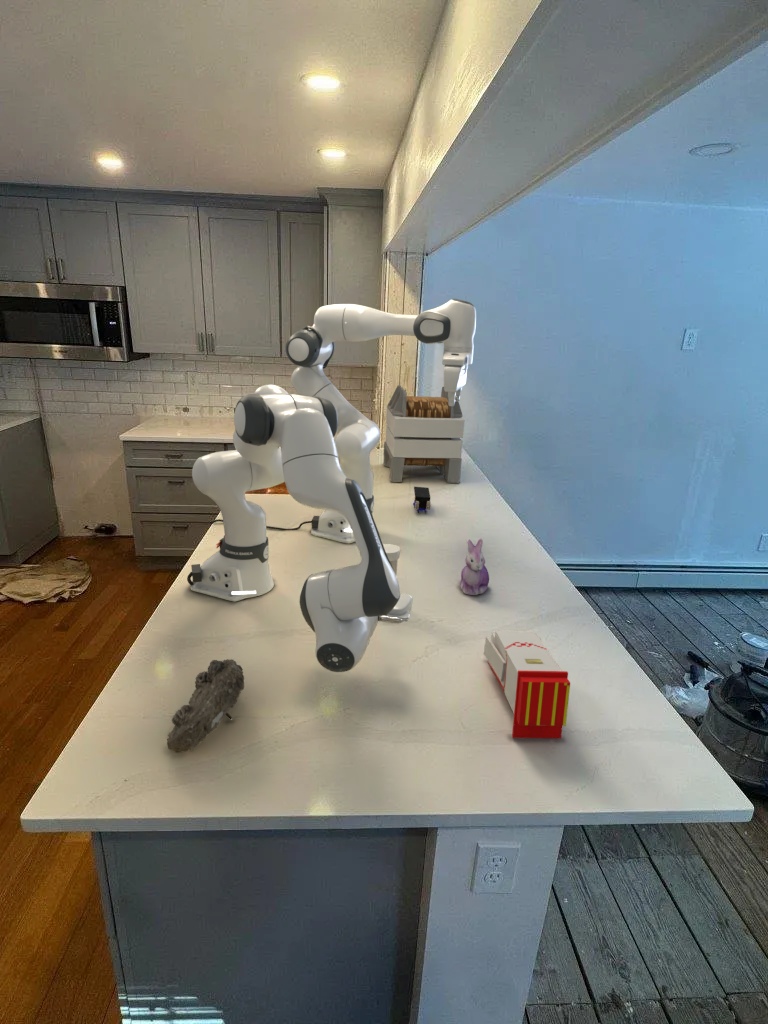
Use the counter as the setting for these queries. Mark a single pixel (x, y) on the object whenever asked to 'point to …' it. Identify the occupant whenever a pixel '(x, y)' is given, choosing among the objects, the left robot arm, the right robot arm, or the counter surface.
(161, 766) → the counter surface
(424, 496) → the figurine character
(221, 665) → the fossil
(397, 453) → the transformer
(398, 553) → the lid
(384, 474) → the counter surface
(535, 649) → the toy
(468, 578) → the figurine
